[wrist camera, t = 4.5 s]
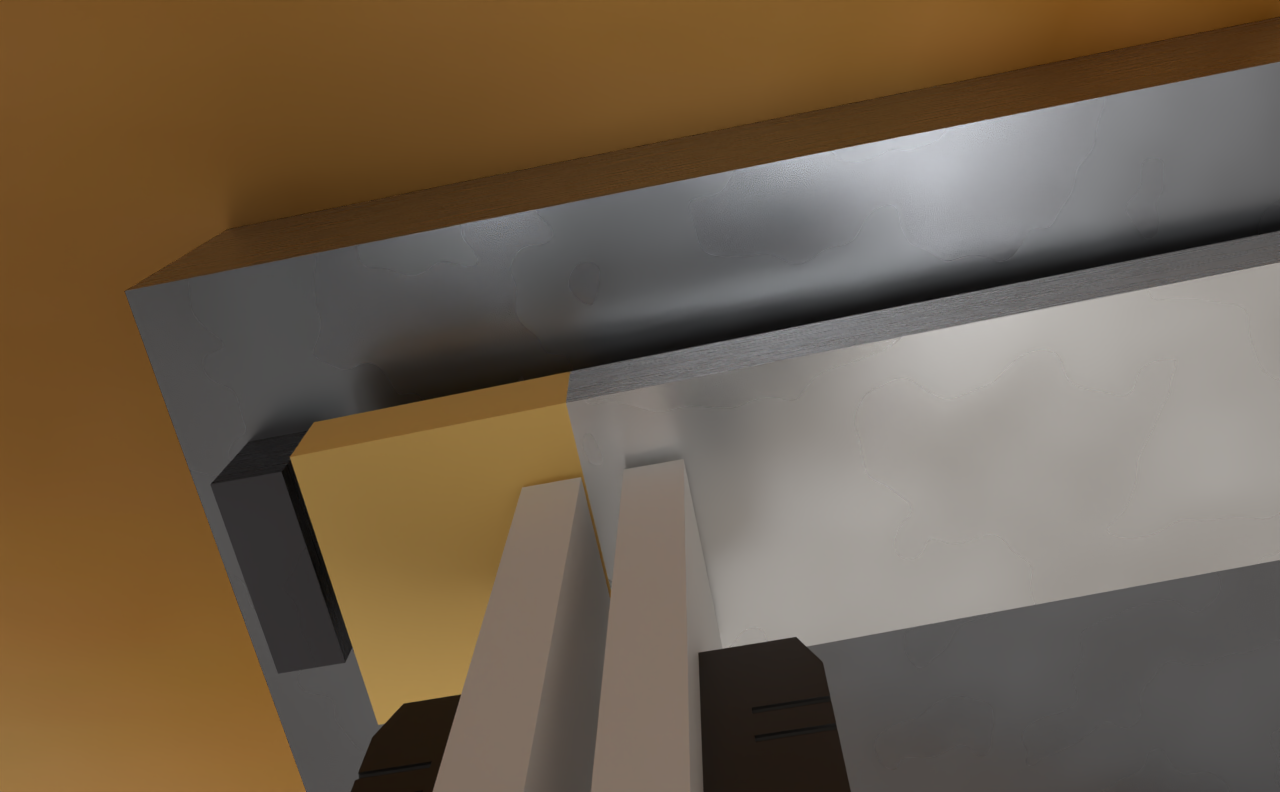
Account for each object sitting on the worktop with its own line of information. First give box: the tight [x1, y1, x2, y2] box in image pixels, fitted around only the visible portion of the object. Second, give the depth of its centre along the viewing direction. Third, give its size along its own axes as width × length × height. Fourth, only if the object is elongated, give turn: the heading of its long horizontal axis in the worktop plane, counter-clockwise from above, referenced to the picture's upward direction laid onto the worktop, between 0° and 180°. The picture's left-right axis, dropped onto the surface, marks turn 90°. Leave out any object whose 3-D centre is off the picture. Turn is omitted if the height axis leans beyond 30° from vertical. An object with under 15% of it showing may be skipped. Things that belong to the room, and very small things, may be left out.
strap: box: [290, 231, 1280, 725], centre depth 15 cm, size 17×4×2 cm, turn 102°
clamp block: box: [125, 17, 1280, 792], centre depth 19 cm, size 20×22×7 cm
